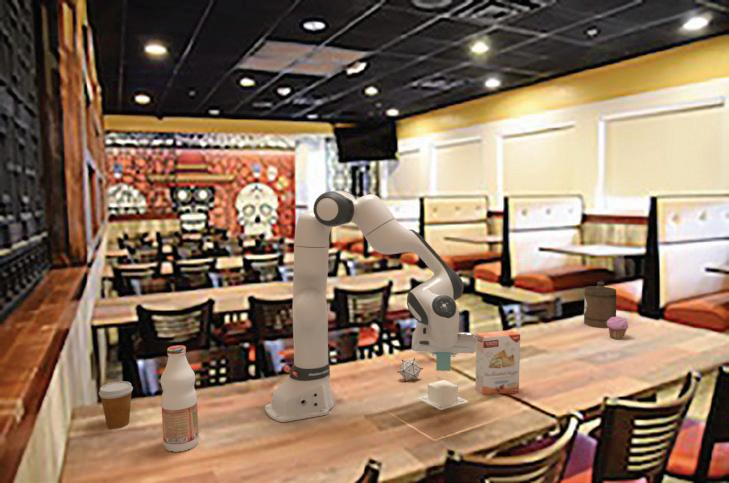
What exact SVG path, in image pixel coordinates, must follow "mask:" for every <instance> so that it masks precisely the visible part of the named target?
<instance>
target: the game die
mask: <svg viewBox="0 0 729 483" xmlns="http://www.w3.org/2000/svg"><path fill="white" fill-rule="evenodd" d="M415 360H416V357H414V358H413V359H410V360H409V359H408V360H404V359H401V361H402V363H401V366H400V369H399V370H398V371H397V373H399V374H400V375H401V376H402V378H403V379H404V383H407V382H409V381H416V380H418V378H419V375H420V373H421V371H422V370H423V369H424V368H423V367H420V366H419V364H418V363H417V361H415Z"/></svg>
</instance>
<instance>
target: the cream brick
mask: <svg viewBox="0 0 729 483" xmlns="http://www.w3.org/2000/svg"><path fill="white" fill-rule="evenodd" d="M427 395H428V399H430V400H432V401H433V402H435V403H437V404H439V405H445V404H449V403H452V402H456V401H458V397H459V386H458V385H457V384H454V383H452V382H450V381H447V380H445V379H442V380H438V381H434V382H431V383H427Z"/></svg>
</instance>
